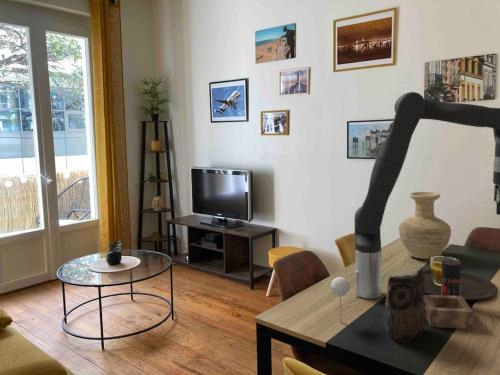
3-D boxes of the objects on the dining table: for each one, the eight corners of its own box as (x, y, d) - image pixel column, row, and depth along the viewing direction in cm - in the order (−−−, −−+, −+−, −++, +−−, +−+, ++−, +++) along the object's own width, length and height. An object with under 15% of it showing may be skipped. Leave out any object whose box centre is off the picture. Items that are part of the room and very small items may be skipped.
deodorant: (462, 308, 140) (463, 265, 138) (443, 307, 141) (444, 264, 139) (457, 301, 146) (458, 259, 144) (439, 300, 147) (439, 259, 145)
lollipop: (346, 328, 130) (345, 282, 128) (328, 324, 133) (327, 279, 131) (352, 319, 135) (352, 275, 133) (335, 316, 138) (334, 273, 136)
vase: (406, 247, 211) (406, 189, 207) (454, 253, 198) (456, 191, 194) (392, 259, 193) (392, 196, 189) (445, 267, 180) (446, 199, 176)
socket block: (430, 326, 128) (430, 309, 127) (422, 310, 140) (423, 294, 139) (472, 329, 125) (473, 311, 125) (461, 311, 137) (462, 296, 136)
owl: (426, 327, 128) (426, 264, 125) (427, 347, 116) (428, 279, 114) (383, 322, 133) (383, 262, 130) (380, 341, 121) (380, 275, 118)
